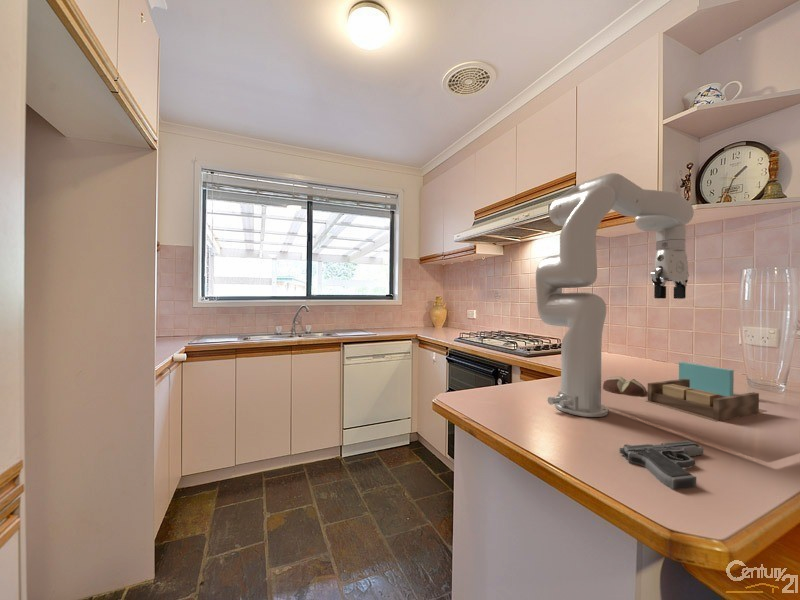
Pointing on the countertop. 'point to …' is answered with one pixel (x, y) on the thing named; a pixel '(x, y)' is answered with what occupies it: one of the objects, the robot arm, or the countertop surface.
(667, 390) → the offcut left
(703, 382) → the panel
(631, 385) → the bread
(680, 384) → the rack
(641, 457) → the handgun
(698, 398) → the offcut right
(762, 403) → the countertop surface
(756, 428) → the countertop surface
